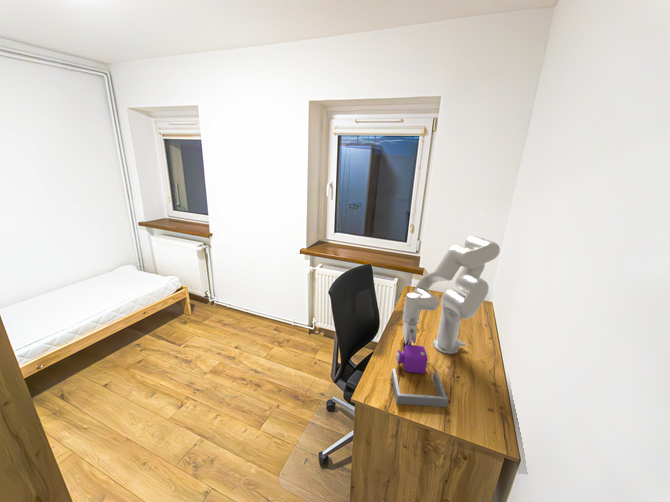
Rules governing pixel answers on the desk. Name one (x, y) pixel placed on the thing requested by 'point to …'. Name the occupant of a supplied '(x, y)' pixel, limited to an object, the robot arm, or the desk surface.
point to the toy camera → (413, 359)
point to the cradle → (421, 399)
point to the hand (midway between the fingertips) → (406, 350)
